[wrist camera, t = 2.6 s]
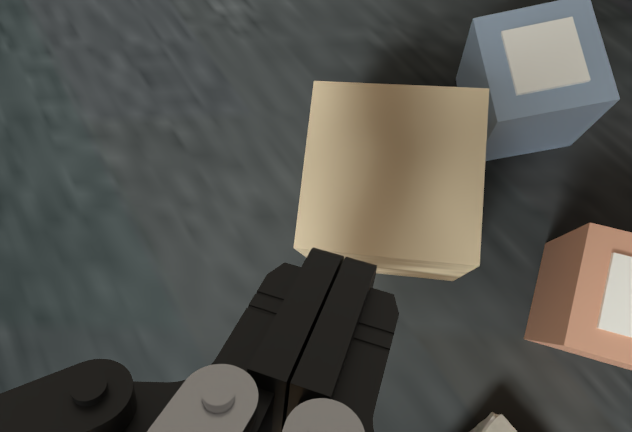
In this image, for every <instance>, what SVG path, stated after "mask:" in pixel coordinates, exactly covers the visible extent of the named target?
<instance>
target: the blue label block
mask: <svg viewBox="0 0 632 432" xmlns="http://www.w3.org/2000/svg"><path fill="white" fill-rule="evenodd" d="M456 83H457V87H469V88H489V105H488V123H487V141H486V159H485V161H489V160H494V159H500V158H505V157H511V156H517V155H522V154H528V153H533V152H539V151H544V150H550V149H555V148H561V147H566V146H571V145H572V144H573V143H574V142H575V141H576V140H577V139H578V138H579V137H580V136H581V135H582V134H583V133H584V132H585V131H587V130H588V129H589V128H590V127H591V126H592V125H593V124H594V123H595V122H596V121H597V120H598V119H599V118H600V117H601V116H603V115H604V114H605V113H606V112H607V111H608V110H609V109H610V108H611V107H612V106H613V105H614V104H615V103H616V102H617V101H618V100H620V97H619V94H618V90H617V87H616V84H615V80H614V77H613V74H612V70H611V67H610V64H609V60H608V57H607V53H606V50H605V47H604V43H603V40H602V37H601V33H600V30H599V27H598V23H597V20H596V17H595V13H594V10H593V6H592V3H591V0H558V1H553V2H548V3H543V4H539V5H534V6H529V7H524V8H520V9H515V10H510V11H505V12H501V13H496V14H491V15H486V16H481V17H477V18H473V19H472V23H471V26H470V30H469V34H468V37H467V41H466V44H465V48H464V51H463V55H462V58H461V62H460V65H459V69H458V72H457V76H456Z"/></svg>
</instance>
